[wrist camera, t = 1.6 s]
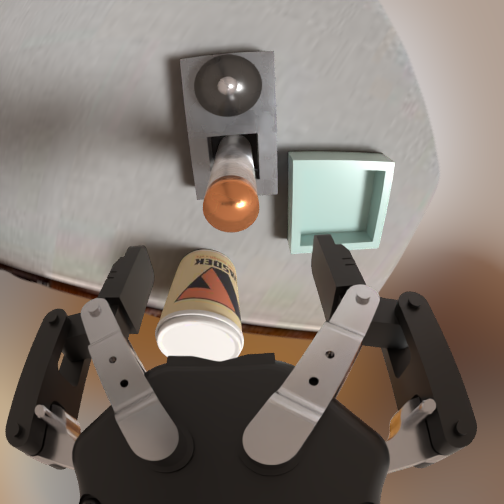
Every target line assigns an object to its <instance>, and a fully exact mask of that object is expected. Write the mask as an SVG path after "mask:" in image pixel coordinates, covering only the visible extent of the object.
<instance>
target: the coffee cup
mask: <svg viewBox="0 0 504 504" xmlns="http://www.w3.org/2000/svg"><path fill="white" fill-rule="evenodd" d="M155 337H156V340H157V344H158V346H159V348H160V350H161V351H162V353H163V354H165V355H166V356H167V357H168V356H195V357H200V358H204V359H209V360H214V361H224V360H228V359H232V358H236V357H238V355H239V354H240V352H241V350H242V348H243V344H244V338H243V334H242V329H241V317H240V307H239V297H238V287H237V277H236V270H235V267H234V265H233V263H232V262H231V260H230V259H229V258H228V257H226V256H225V255H223V254H222V253H220V252H217V251H214V250H207V249H202V250H196V251H193V252H191V253H189V254H187V255H186V256H185V257H184V258H183V259H182V260H181V262H180V264H179V266H178V269H177V271H176V274H175V277H174V280H173V282H172V285H171V288H170V291H169V294H168V297H167V300H166V303H165V306H164V309H163V312H162V315H161V318H160V322H159V323H158V325H157V328H156V331H155Z"/></svg>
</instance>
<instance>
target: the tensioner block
mask: <svg viewBox="0 0 504 504" xmlns="http://www.w3.org/2000/svg"><path fill="white" fill-rule="evenodd" d="M180 67H181V78H182V88H183V97H184V106H185V115H186V123H187V131H188V139H189V147H190V154H191V161H192V168H193V175H194V182H195V189H196V195H197V200H201V199H204V198H205V194H206V190H207V186H208V183H209V179H210V175H211V171H212V168H213V164H214V162H213V153H212V144H211V137H212V136H223V135H236V134H251V133H256V135H257V156H258V169H254V172H255V179H256V186H257V194H258V195H273V194H278V173H277V125H276V93H275V68H274V51H261V52H239V53H226V54H215V55H206V56H198V57H191V58H185V59H180Z"/></svg>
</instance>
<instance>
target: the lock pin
mask: <svg viewBox="0 0 504 504" xmlns="http://www.w3.org/2000/svg"><path fill="white" fill-rule="evenodd" d="M203 212H204V216H205V218H206V220H207V221H208V222H209V223H210V224H211V225H212V226H213V227H215V228H216V229H218V230H221V231H224V232H238V231H242V230H244V229H246V228H248V227H249V226H250V225H252V224H253V223H254V221H255V220H256V218H257V216H258V213H259V201H258V194H257V186H256V179H255V172H254V164H253V157H252V150H251V145H250V143H249V141H248V140H247V139H246V138H245V137H244V136H242V135H239V134H236V135H228V136H226V137H224V138H223V139H222V140H221V142H220V143H219V146H218V150H217V153H216V157H215V160H214V164H213V168H212V171H211V175H210V179H209V183H208V186H207V190H206V194H205V198H204V202H203Z"/></svg>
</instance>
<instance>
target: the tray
mask: <svg viewBox="0 0 504 504" xmlns="http://www.w3.org/2000/svg"><path fill="white" fill-rule="evenodd" d="M394 166H395V162H394V161H392V160H391V159H390V158H388V157H387V156H385V155H384V154H381V153H363V152H330V151H300V152H288V231H287V240H288V244H289V248H290V252H291V254H299V253H312V250H313V239H314V235H320V234H331V236H332V238H333V240H334V242H335V244H342V245H343V246H345V247H346V248H347V249H348V250H358V249H373V248H378V247H379V243H380V239H381V235H382V230H383V226H384V221H385V217H386V212H387V207H388V201H389V196H390V190H391V185H392V179H393V172H394Z"/></svg>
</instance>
